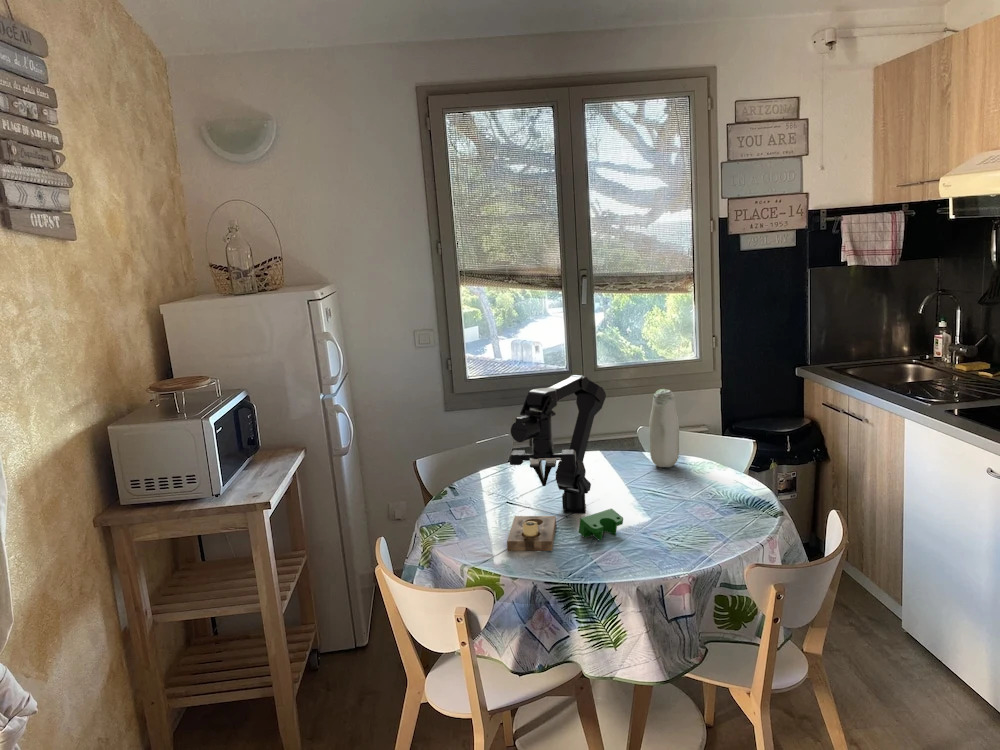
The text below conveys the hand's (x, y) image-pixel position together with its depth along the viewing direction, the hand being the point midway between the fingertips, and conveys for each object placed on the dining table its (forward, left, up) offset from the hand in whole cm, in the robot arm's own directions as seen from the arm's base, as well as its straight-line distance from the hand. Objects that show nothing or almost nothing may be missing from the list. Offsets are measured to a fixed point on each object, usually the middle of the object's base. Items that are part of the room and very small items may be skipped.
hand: (544, 485), depth 213 cm
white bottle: (-38, -52, -12) cm, 66 cm away
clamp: (-16, +7, -12) cm, 22 cm away
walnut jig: (+3, +9, -12) cm, 16 cm away
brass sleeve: (+3, +14, -12) cm, 18 cm away
